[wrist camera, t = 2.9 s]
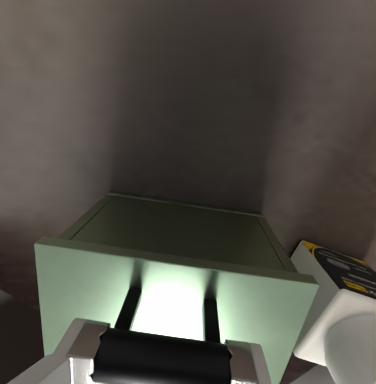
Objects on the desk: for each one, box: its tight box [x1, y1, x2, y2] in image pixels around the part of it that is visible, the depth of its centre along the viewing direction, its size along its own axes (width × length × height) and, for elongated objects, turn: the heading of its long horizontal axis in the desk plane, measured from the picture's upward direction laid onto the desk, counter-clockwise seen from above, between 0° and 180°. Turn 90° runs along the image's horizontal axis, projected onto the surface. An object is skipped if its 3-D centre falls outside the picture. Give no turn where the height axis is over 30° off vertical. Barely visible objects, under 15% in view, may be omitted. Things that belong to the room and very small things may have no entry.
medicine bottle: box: [290, 241, 376, 384], centre depth 18 cm, size 7×7×12 cm
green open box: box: [58, 191, 299, 273], centre depth 20 cm, size 16×15×10 cm
